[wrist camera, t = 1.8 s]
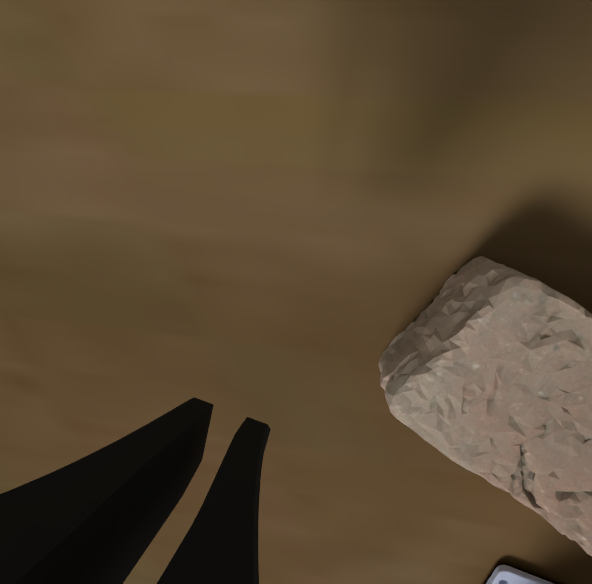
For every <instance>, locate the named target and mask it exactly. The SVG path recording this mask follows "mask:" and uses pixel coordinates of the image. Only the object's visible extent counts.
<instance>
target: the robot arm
mask: <svg viewBox="0 0 592 584" xmlns="http://www.w3.org/2000/svg"><path fill="white" fill-rule="evenodd" d="M212 409H213V404H210V403H208V402H205V401H202V400H200V399H197V398H192V399H190V400H188V401H186V402H185V403H183V404H181V405H180V406H178V407H176V408H174V409H173V410H171V411H169V412H168V413H166V414H164V415H162V416H161V417H159V418H157V419H155V420H154V421H152V422H150V423H149V424H147V425H145V426H143V427H141V428H139V429H138V430H136V431H134V432H132V433H130V434H129V435H127V436H125V437H123V438H121V439H119V440H117V441H116V442H114V443H112V444H110V445H108V446H106V447H104V448H102V449H100V450H98V451H96V452H94V453H92V454H90V455H88V456H86V457H84V458H82V459H80V460H78V461H76V462H73V463H71V464H69V465H67V466H65V467H63V468H61V469H58V470H56V471H54V472H52V473H50V474H47V475H45V476H43V477H40V478H38V479H36V480H33V481H31V482H29V483H26V484H24V485H22V486H19V487H17V488H15V489H12V490H10V491H7V492H5V493H2V494H0V584H123V582H124V581H125V579H126V578H127V576H128V575H129V574H130V572H131V571H132V569H133V568H134V566H135V565H136V563H137V562H138V560H139V559H140V557H141V556H142V555H143V553H144V552H145V550H146V549H147V547H148V546H149V544H150V543H151V541H152V540H153V539H154V537H155V536H156V534H157V533H158V531H159V530H160V528H161V527H162V525H163V524H164V522H165V521H166V519H167V518H168V516H169V515H170V514H171V512H172V511H173V509H174V508H175V506H176V505H177V503H178V502H179V500H180V499H181V497H182V496H183V494H184V492H185V490H186V488H187V487H188V485H189V483H190V481H191V479H192V478H193V476H194V474H195V472H196V470H197V468H198V466H199V465H200V463H201V461H202V457H203V452H204V448H205V443H206V438H207V433H208V428H209V423H210V419H211V414H212ZM269 433H270V428H269V426H268V424H265V423H262V422H259V421H257V420H254V419H251V418H249V417H247V418H246V419H245V421H244V422H243V423H242V425H241V426H240V428H239V429H238V431H237V432H236V434H235V435H234V438H233V440H232V442H231V444H230V446H229V448H228V450H227V453H226V455H225V457H224V459H223V461H222V463H221V466H220V468H219V470H218V472H217V474H216V477H215V479H214V481H213V483H212V485H211V487H210V490H209V492H208V494H207V496H206V498H205V500H204V503H203V505H202V507H201V509H200V511H199V513H198V514H197V516H196V518H195V520H194V522H193V524H192V526H191V528H190V529H189V531H188V533H187V534H186V536H185V538H184V539H183V541H182V543H181V544H180V546H179V548H178V549H177V551H176V553H175V554H174V556H173V558H172V559H171V561H170V563H169V564H168V566H167V568H166V569H165V571H164V573H163V574H162V576H161V578H160V579H159V581H158V582H157V584H259V571H258V511H259V492H260V477H261V468H262V461H263V454H264V450H265V447H266V443H267V440H268V436H269ZM486 584H554V583H551V582H549V581H546V580H544V579H541V578H538V577H536V576H533V575H531V574H528V573H525V572H523V571H520V570H518V569H515V568H513V567H510V566H507V565H499V566H498V567H497V568H496V569H495V570H494V572H493V573H492V575H491V577H490V578H489V580H488V581H487V583H486Z"/></svg>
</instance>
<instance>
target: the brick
mask: <svg viewBox="0 0 592 584" xmlns="http://www.w3.org/2000/svg"><path fill="white" fill-rule="evenodd" d="M379 368H380V371H381V379H380V385H381V386H382V387H383V389H384V390H385V398H386V400H387V403H388V406H389V408H390V412H391V413H392V414H393V415H394V416H395V417H396V418H397V419H398V420H399V421H401V422H402V423H404V424H405V425H406V426H408V427H409V428H411V429H412V430H413V431H415V432H416V433H417V434H418V435H419V436H421V437H422V438H423V439H424V440H425V441H427V442H428V443H430V444H431V445H433V446H434V447H436V448H437V449H438V450H439V451H440V452H442V453H443V454H444V455H446V456H447V457H448V458H450V459H451V460H453V461H454V462H456V463H457V464H459V465H461V466H462V467H464V468H465V469H467V470H469V471H471V472H473V473H476V474H478V475H480V476H482V477H483V478H485V479H486V480H487V481H488V482H489V483H491V484H492V485H493V486H495V487H497V488H500V489H502V490H504V491H506V492H510V494H511V495H512V496H513V498H515V499H516V500H518V501H519V502H520V503H522V504H523V505H525V506H527V507H529V508H531V509H533V510H534V511H536V512H537V513H538V514H540V515H541V516H542V517H543V518H544V519H545V520H547V521H548V522H549V523H550V524H551V525H552V526H554V527H555V528H556V529H557V530H558V531H559V532H560V533H561V534H565V535H566V536H567V537H568V538H569V539H570V540H574V541H576V542H577V543H578V544H579V545H580V546H581V547H582V548H583V549H584V551H585V552H586V553H587V554H589V555H590V556H592V314H591V313H590V312H589V311H587V310H586V309H585V308H583V307H582V306H580V305H579V304H578V303H576V302H575V301H573V300H572V299H570V298H569V297H567V296H565V295H563V294H561V293H560V292H558V291H556V290H554V289H552V288H550V287H548V286H547V285H545V284H544V283H542V282H541V281H539V280H537V279H536V278H533V277H529V276H527V275H525V274H523V273H521V272H519V271H517V270H514V269H512V268H509V267H506V266H505V265H504V264H498V263H496V262H494V261H492V260H489V259H488V258H485V257H483V256H480V257H477V258H473V259H472V260H471V261H469V262H468V263H467V264H465V265H464V266H463V267H461V268H460V270H459V271H458V272H457V274H455V275H452V276H451V277H449V278H448V279H447V281H446V282H445V284H444V286H443V288H442V289H441V290H440V293H439V295H438V296H436V297H435V298H434V301H433V302H432V303H431V304H430V305H429V306H428V307H427V308H426V309H425V310H424V311H423V312H422V313H421V314H420V317H418V318H417V320H416V321H415V322H411V324H410V325H409V326H408V327H407V328H406V329H405V330H404V331H403V332H401V333H400V334H398V335H397V336H396V337H395V338H394V339H393V340H392V341H391V343H390V345H389V346H388V347H387V349H386V350H385V351H384V352H383V353H382V355H381V358H380V361H379Z"/></svg>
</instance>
